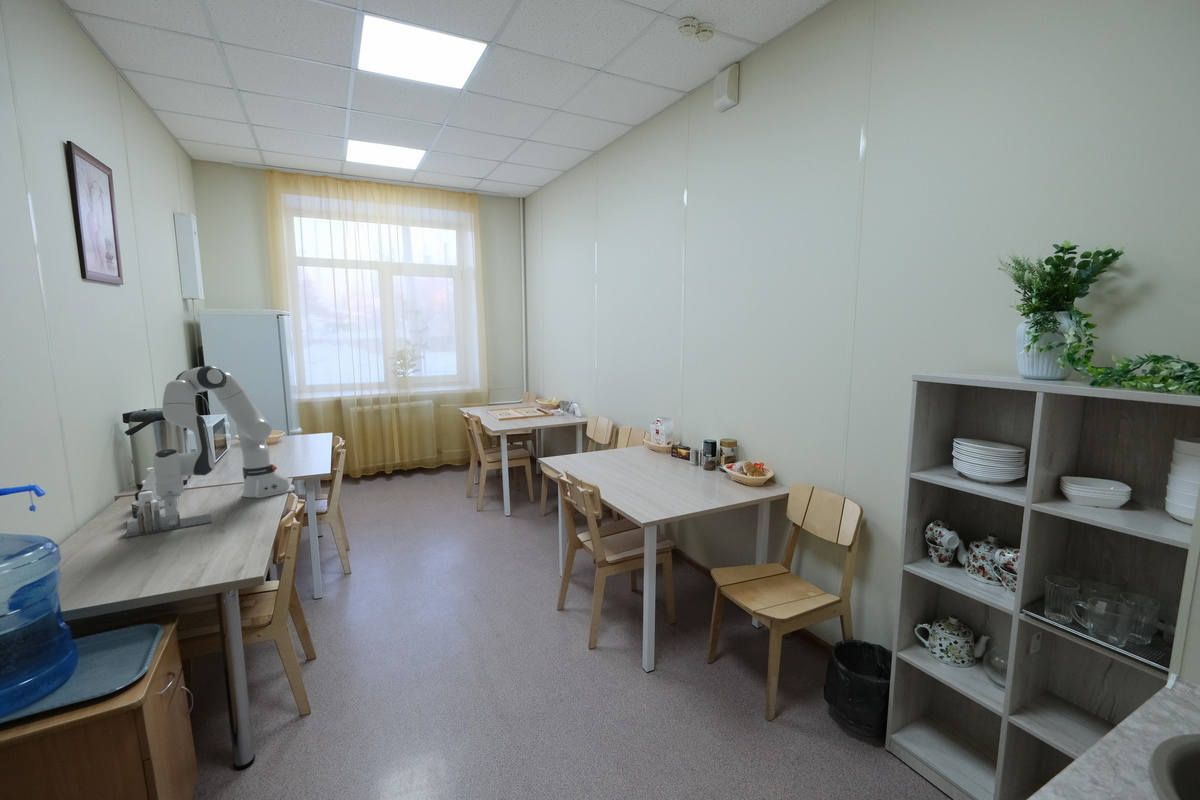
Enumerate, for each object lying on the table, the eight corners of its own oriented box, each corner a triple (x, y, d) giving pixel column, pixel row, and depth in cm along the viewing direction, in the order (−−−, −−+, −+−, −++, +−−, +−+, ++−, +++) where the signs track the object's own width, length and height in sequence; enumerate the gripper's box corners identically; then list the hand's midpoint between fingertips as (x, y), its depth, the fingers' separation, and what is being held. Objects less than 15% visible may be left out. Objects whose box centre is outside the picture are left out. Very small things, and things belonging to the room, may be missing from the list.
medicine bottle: (132, 518, 222) (129, 492, 220) (153, 513, 228) (150, 487, 226) (140, 521, 218) (137, 494, 217) (160, 516, 225) (158, 490, 223)
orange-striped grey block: (180, 521, 218) (179, 511, 217) (179, 524, 214) (178, 514, 213) (129, 530, 208) (128, 519, 207) (128, 533, 204) (127, 522, 204)
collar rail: (210, 515, 227) (208, 490, 225) (211, 522, 218) (209, 497, 216) (128, 529, 210) (125, 502, 209) (125, 538, 201) (122, 510, 199)
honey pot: (159, 509, 234) (155, 470, 232) (132, 508, 234) (127, 470, 232) (183, 500, 247) (179, 463, 244) (157, 499, 247) (153, 463, 245)
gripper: (179, 493, 206) (182, 526, 208) (180, 481, 222) (183, 512, 224) (158, 496, 202) (162, 530, 204) (161, 484, 218) (164, 515, 220)
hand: (173, 520), depth 214 cm, fingers open, 8 cm apart
